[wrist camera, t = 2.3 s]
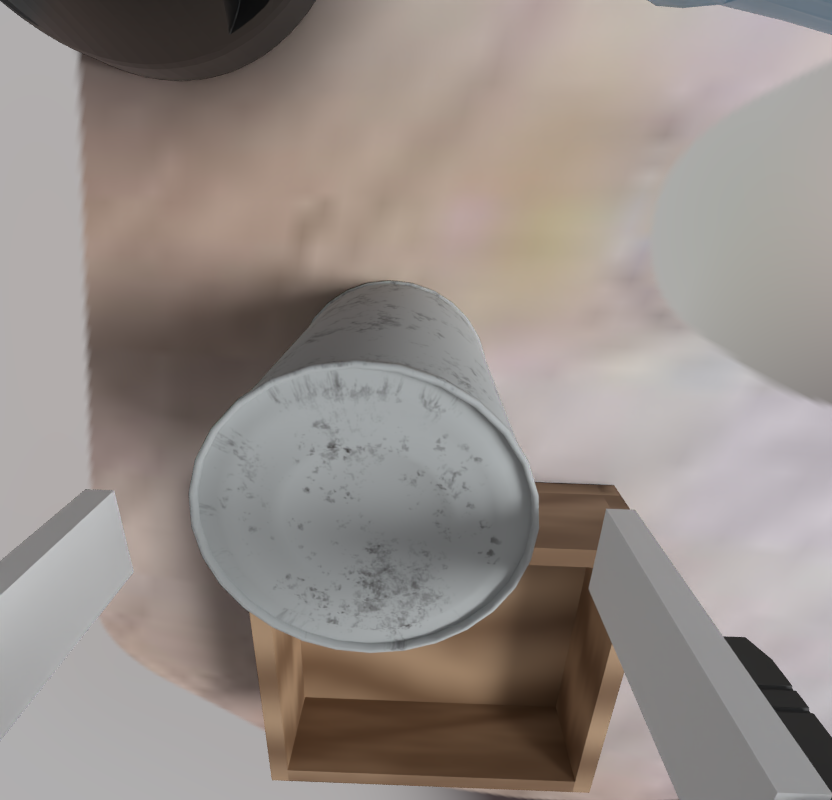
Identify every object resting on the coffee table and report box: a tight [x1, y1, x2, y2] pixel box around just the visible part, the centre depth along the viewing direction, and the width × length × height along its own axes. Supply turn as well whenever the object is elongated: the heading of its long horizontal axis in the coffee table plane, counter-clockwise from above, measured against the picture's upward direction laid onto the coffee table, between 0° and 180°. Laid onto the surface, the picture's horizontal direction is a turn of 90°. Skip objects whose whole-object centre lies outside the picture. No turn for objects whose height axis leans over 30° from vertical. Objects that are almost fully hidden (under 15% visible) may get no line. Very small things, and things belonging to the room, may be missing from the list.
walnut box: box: [249, 482, 630, 793], centre depth 28 cm, size 18×19×6 cm
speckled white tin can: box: [189, 281, 539, 653], centre depth 19 cm, size 10×10×12 cm
